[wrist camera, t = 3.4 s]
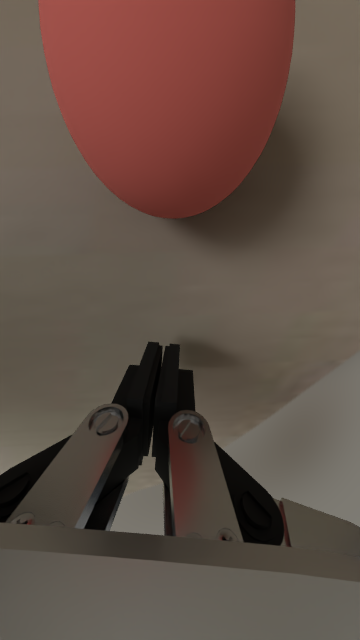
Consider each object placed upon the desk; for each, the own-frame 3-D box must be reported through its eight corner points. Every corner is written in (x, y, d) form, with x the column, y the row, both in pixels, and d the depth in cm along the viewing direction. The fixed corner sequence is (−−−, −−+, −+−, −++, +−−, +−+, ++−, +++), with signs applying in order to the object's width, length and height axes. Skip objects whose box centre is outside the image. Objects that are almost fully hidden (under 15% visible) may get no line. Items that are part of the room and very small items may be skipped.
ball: (136, 242, 9) (69, 237, 4) (80, 86, 7) (-241, -417, 2) (254, 202, 9) (382, 125, 3) (230, 16, 7) (477, -1192, 1)
